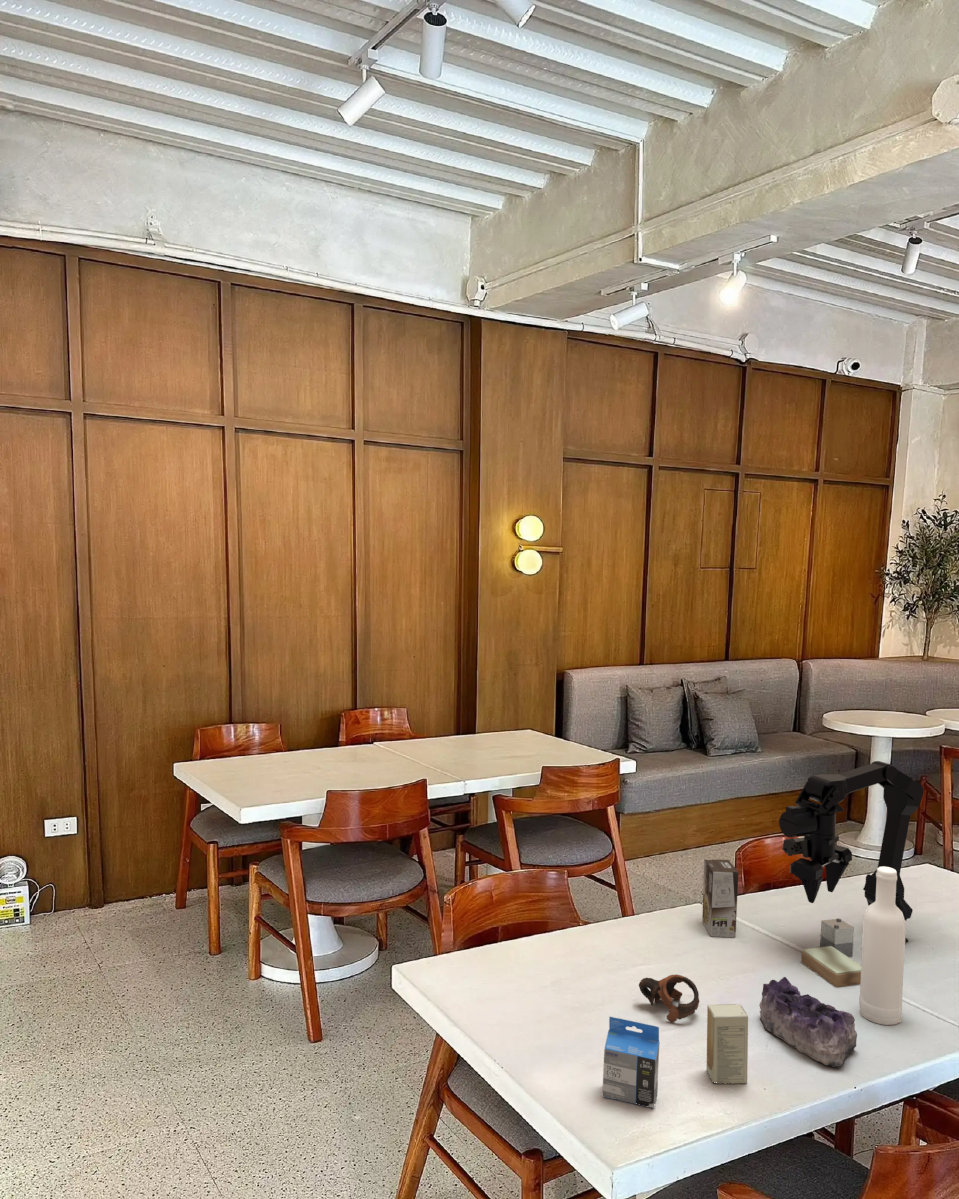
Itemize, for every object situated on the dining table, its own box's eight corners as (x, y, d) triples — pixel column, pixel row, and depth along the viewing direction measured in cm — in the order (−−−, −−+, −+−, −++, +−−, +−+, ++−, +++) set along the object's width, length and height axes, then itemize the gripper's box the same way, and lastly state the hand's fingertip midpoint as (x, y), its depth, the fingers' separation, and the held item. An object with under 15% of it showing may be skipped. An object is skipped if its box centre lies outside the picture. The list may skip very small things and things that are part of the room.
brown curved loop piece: (693, 1002, 183) (704, 978, 178) (688, 1042, 175) (700, 1019, 171) (636, 980, 185) (646, 956, 181) (629, 1020, 177) (639, 996, 173)
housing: (838, 947, 209) (839, 917, 208) (852, 957, 204) (854, 926, 204) (820, 949, 207) (821, 919, 207) (834, 959, 203) (835, 928, 202)
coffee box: (736, 937, 213) (739, 872, 212) (710, 937, 213) (712, 871, 212) (727, 922, 222) (729, 858, 221) (701, 921, 222) (703, 858, 221)
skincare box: (739, 1069, 158) (742, 1003, 157) (747, 1084, 154) (750, 1016, 153) (704, 1069, 158) (706, 1003, 157) (711, 1084, 154) (713, 1016, 153)
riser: (830, 958, 203) (831, 945, 203) (867, 983, 192) (868, 969, 191) (801, 962, 201) (801, 949, 201) (836, 987, 189) (836, 973, 189)
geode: (738, 1026, 173) (743, 974, 174) (775, 1017, 180) (780, 967, 180) (830, 1074, 156) (835, 1016, 157) (868, 1063, 163) (873, 1007, 163)
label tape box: (601, 1097, 149) (603, 1026, 149) (606, 1084, 153) (609, 1015, 152) (653, 1110, 146) (656, 1038, 145) (658, 1096, 150) (660, 1025, 149)
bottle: (883, 1029, 173) (890, 878, 171) (849, 1010, 180) (856, 865, 178) (910, 1020, 176) (917, 872, 175) (876, 1002, 183) (883, 860, 182)
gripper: (809, 814, 217) (807, 877, 218) (769, 832, 204) (768, 897, 205) (853, 825, 209) (852, 890, 210) (815, 844, 196) (813, 912, 197)
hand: (820, 897), depth 206 cm, fingers open, 9 cm apart
